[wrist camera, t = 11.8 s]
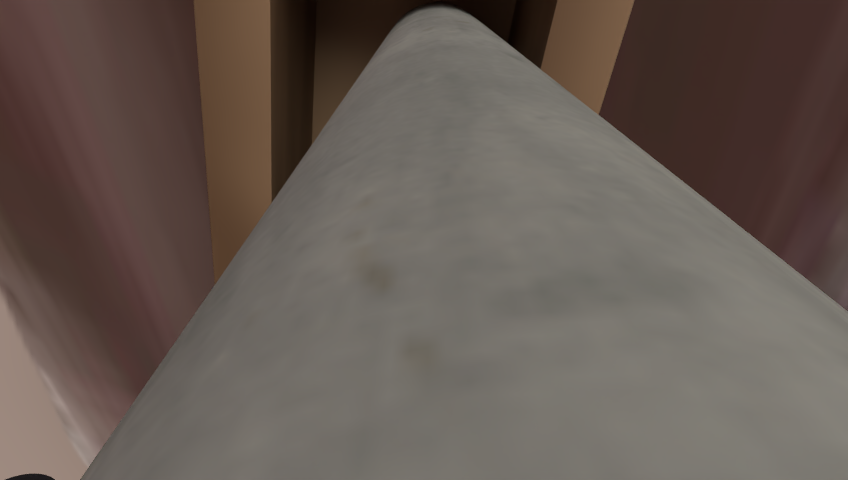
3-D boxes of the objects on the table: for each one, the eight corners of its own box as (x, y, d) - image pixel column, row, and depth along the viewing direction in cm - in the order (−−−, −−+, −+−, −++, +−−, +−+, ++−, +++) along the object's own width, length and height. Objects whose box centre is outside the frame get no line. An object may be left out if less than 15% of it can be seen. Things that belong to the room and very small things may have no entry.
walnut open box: (642, -126, 14) (772, -189, 9) (479, 437, 25) (493, 558, 20) (219, -203, 13) (84, -322, 8) (246, 413, 25) (197, 533, 19)
